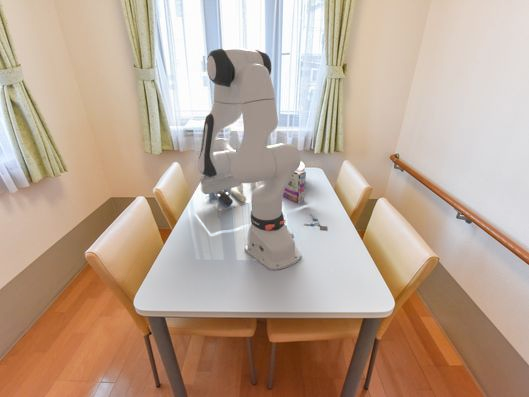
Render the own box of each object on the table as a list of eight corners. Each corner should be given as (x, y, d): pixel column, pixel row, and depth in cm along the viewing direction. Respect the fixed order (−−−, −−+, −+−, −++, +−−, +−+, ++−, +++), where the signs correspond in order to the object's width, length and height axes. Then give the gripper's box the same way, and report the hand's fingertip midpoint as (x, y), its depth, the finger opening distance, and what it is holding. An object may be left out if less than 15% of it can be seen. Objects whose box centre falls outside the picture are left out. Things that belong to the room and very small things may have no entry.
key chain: (330, 230, 113) (331, 228, 113) (315, 235, 110) (315, 233, 109) (311, 215, 124) (311, 213, 124) (296, 219, 121) (296, 217, 120)
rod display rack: (269, 198, 138) (269, 189, 135) (219, 213, 125) (218, 203, 122) (252, 186, 151) (252, 177, 148) (205, 198, 138) (204, 188, 136)
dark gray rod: (232, 204, 128) (232, 197, 126) (226, 206, 126) (225, 199, 125) (219, 191, 140) (219, 185, 138) (213, 193, 138) (212, 187, 137)
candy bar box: (304, 201, 135) (306, 171, 127) (297, 205, 132) (299, 174, 124) (288, 194, 142) (289, 165, 134) (281, 197, 139) (282, 168, 131)
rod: (246, 201, 133) (246, 195, 131) (240, 203, 131) (240, 197, 130) (234, 191, 143) (233, 185, 142) (228, 192, 142) (228, 187, 140)
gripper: (202, 178, 119) (205, 205, 125) (242, 169, 128) (243, 195, 135) (197, 173, 123) (200, 199, 130) (237, 165, 133) (238, 190, 139)
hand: (223, 197), depth 132 cm, fingers closed on dark gray rod, 4 cm apart
